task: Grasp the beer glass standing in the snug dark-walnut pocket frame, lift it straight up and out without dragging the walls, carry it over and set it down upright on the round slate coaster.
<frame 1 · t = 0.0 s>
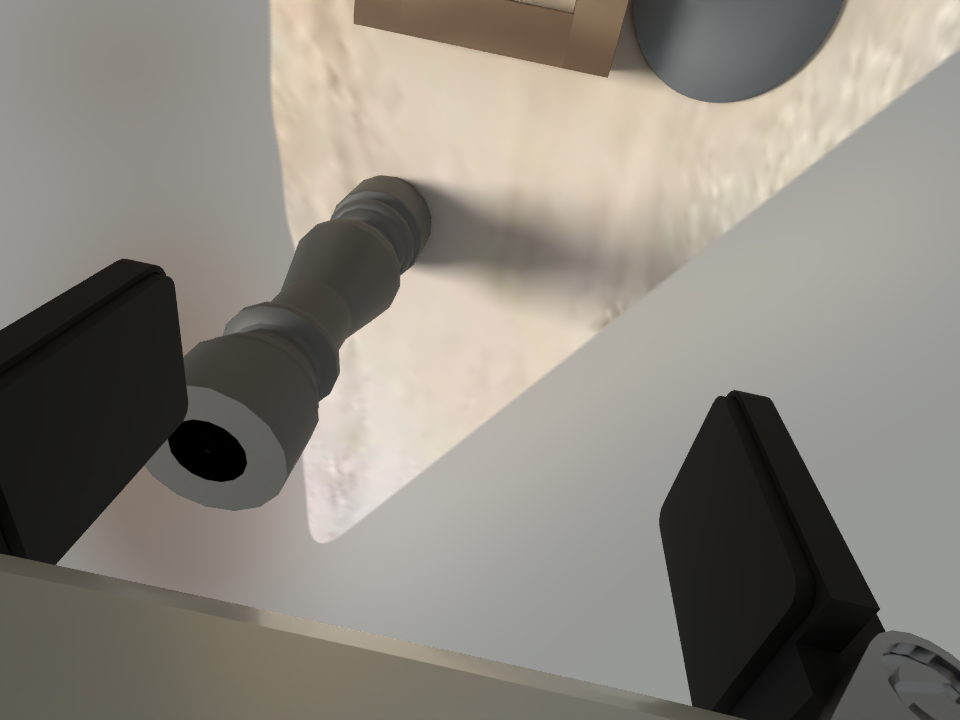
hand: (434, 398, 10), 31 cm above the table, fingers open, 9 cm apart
candle holder: (388, 218, 42), on the table
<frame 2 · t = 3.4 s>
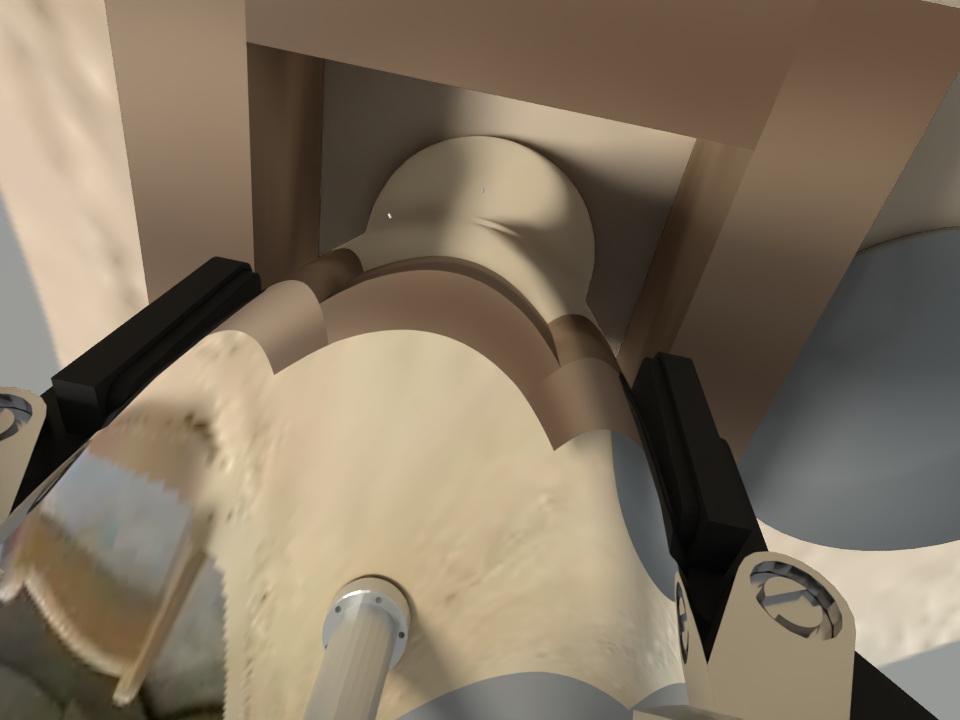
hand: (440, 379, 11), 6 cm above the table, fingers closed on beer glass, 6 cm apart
pocket frame: (481, 251, 16), on the table
coaster: (908, 409, 17), on the table
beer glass: (481, 249, 16), resting in pocket frame, touching gripper
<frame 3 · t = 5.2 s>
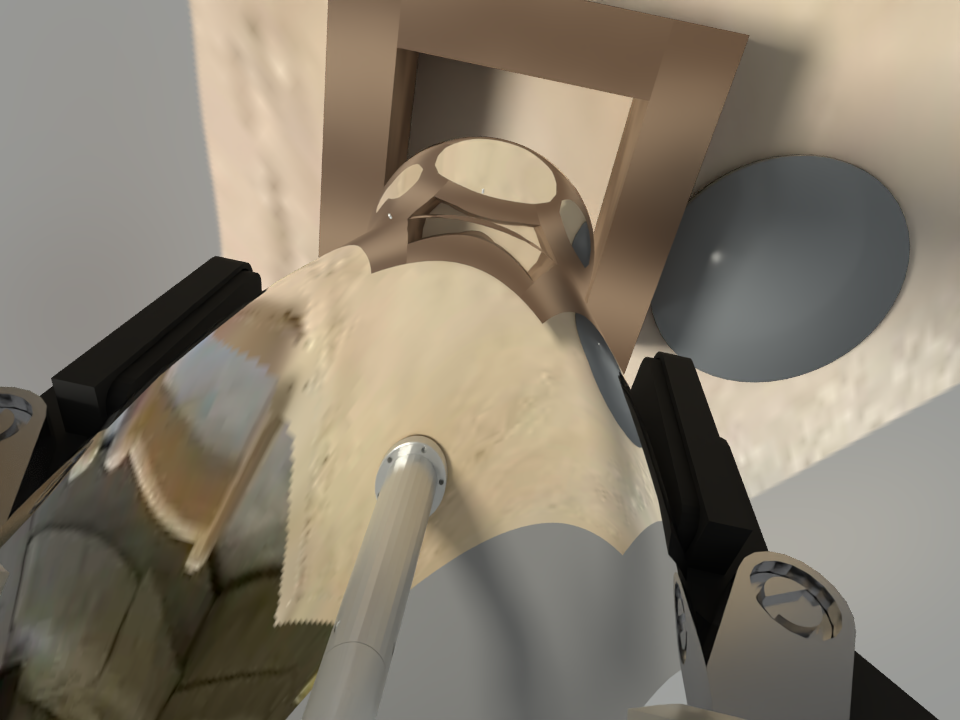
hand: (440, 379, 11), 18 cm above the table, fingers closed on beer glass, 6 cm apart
pocket frame: (505, 176, 26), on the table
coaster: (771, 277, 27), on the table
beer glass: (481, 249, 16), point 11 cm above the table, touching gripper
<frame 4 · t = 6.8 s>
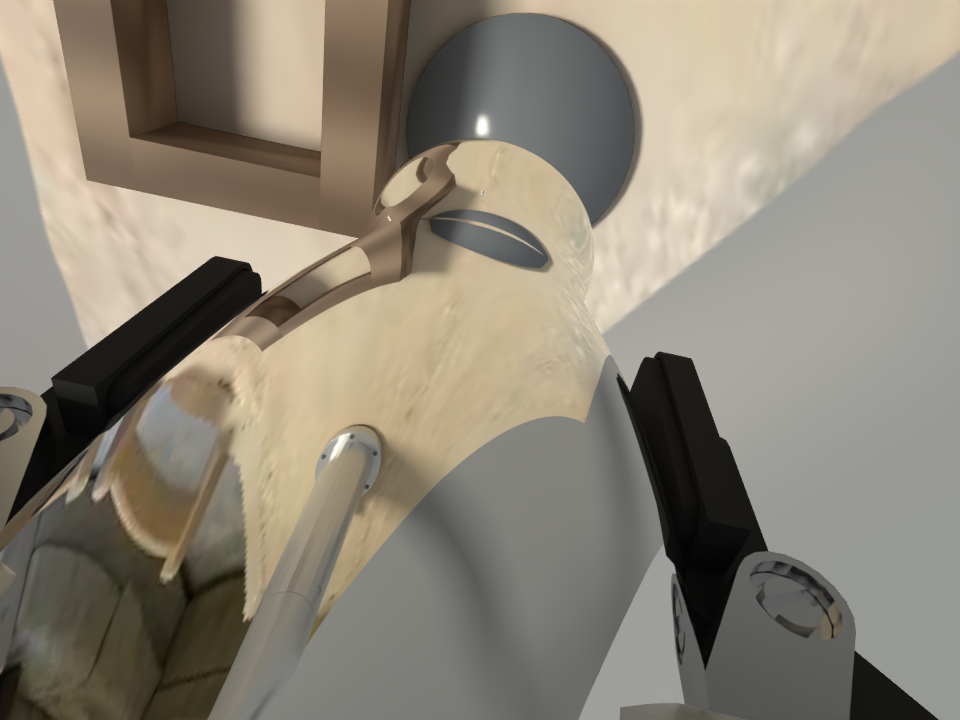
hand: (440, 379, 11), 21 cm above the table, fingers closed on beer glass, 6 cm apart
pocket frame: (260, 42, 28), on the table
coaster: (518, 142, 29), on the table
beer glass: (480, 250, 16), point 15 cm above the table, touching gripper
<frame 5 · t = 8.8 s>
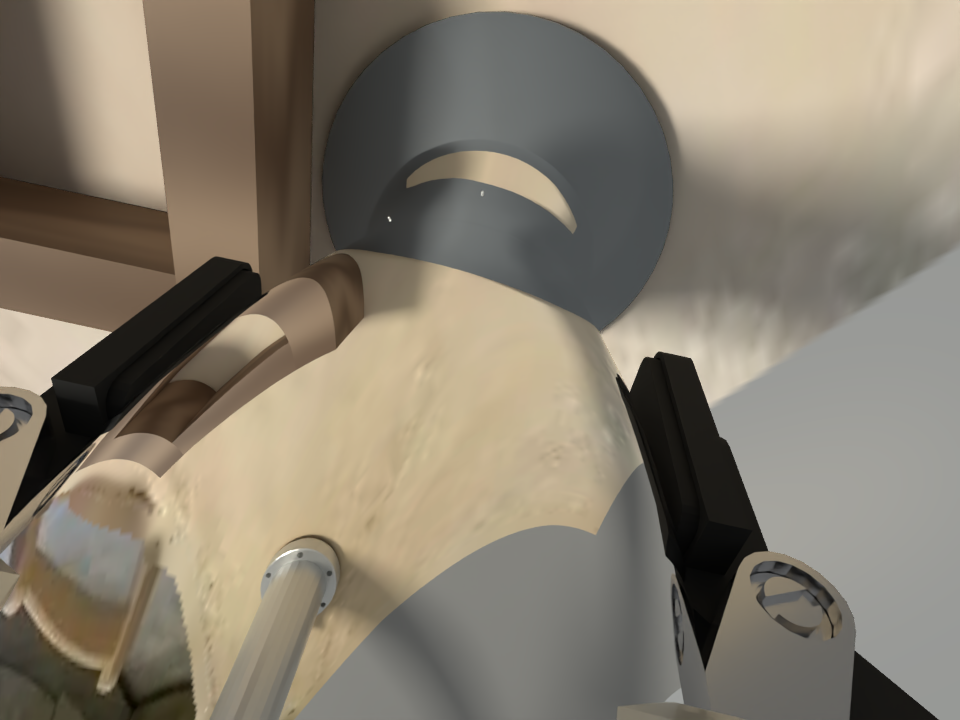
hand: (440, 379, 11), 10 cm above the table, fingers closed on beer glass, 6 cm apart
pocket frame: (88, 57, 18), on the table
coaster: (493, 209, 19), on the table
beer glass: (480, 251, 16), point 3 cm above the table, touching gripper
when the fingers open (8 cm above the table, at t = 10.3 s): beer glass stays where it is, resting on coaster.
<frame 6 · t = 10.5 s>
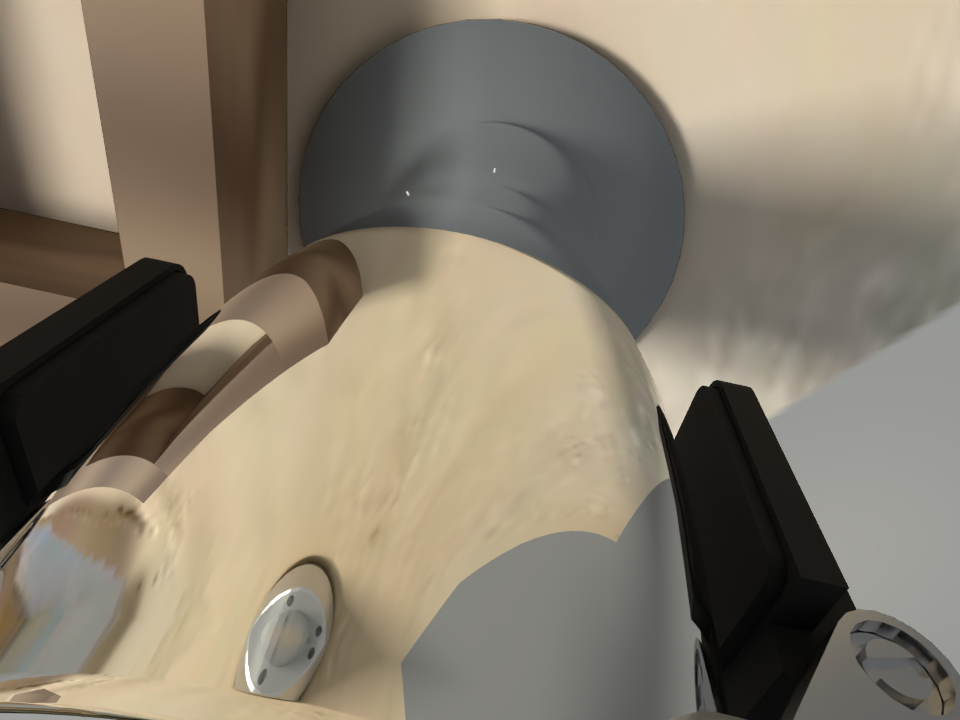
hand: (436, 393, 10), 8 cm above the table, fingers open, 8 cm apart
pocket frame: (39, 68, 16), on the table
coaster: (486, 235, 17), on the table
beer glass: (490, 231, 17), resting on coaster
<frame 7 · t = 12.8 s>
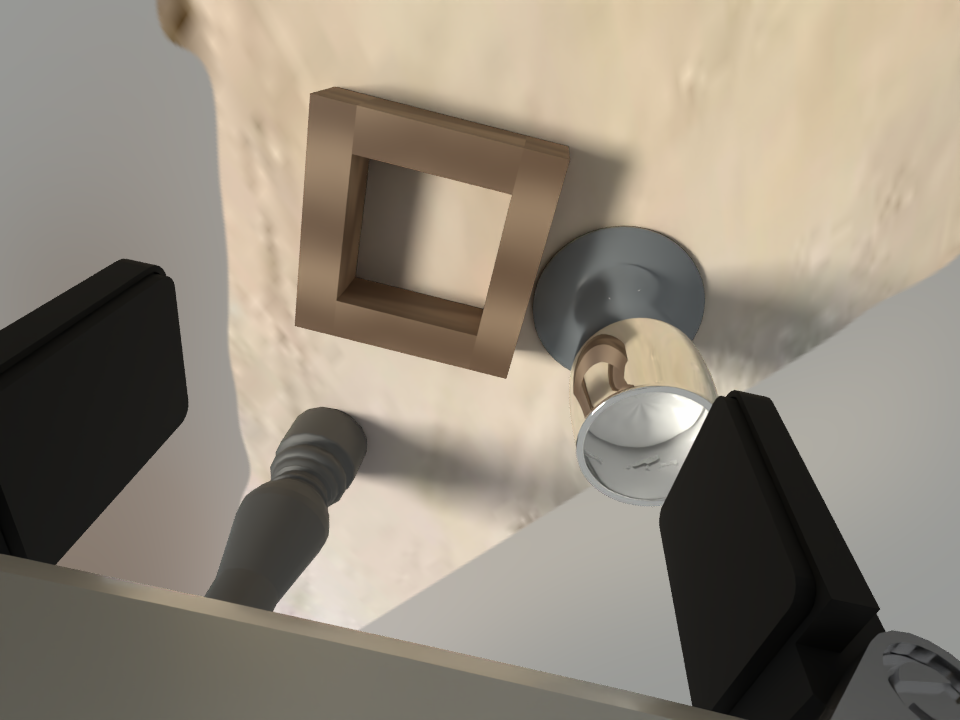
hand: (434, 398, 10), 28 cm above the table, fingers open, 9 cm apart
candle holder: (330, 437, 47), on the table
pocket frame: (431, 230, 38), on the table
coaster: (616, 307, 39), on the table
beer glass: (619, 306, 39), resting on coaster
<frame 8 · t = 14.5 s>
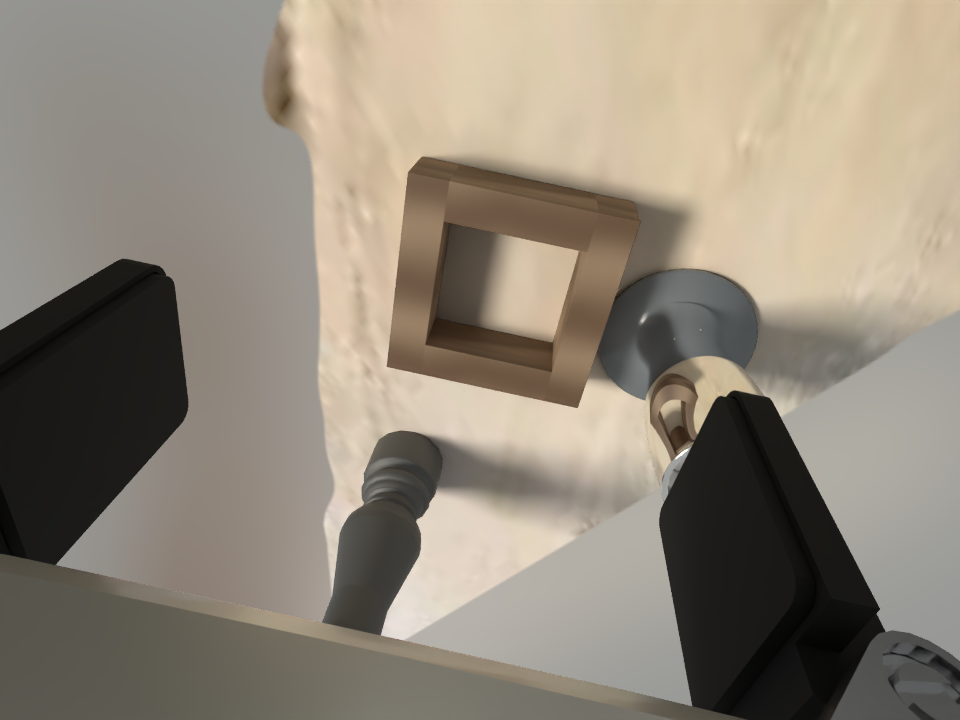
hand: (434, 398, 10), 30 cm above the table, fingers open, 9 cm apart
candle holder: (408, 456, 52), on the table
pocket frame: (506, 276, 42), on the table
coaster: (675, 339, 43), on the table
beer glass: (678, 338, 42), resting on coaster
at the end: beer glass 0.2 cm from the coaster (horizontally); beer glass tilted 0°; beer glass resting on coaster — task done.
